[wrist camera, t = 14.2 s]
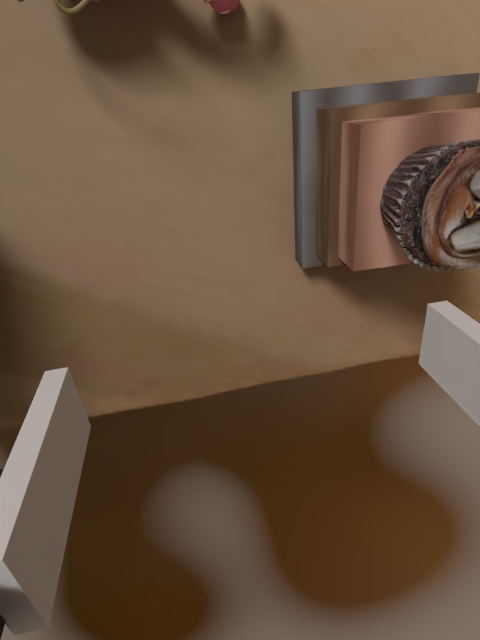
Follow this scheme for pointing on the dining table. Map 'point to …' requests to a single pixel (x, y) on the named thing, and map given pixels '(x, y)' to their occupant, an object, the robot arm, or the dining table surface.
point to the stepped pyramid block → (366, 160)
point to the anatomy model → (223, 3)
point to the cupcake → (436, 205)
